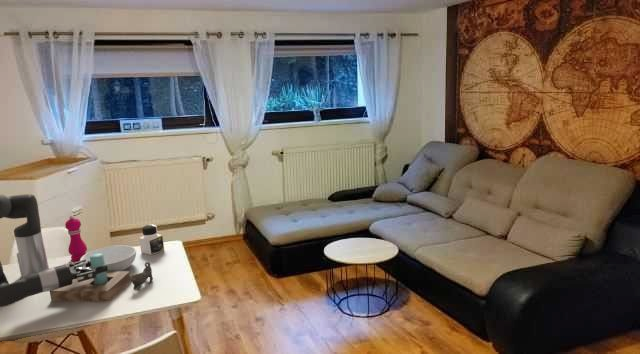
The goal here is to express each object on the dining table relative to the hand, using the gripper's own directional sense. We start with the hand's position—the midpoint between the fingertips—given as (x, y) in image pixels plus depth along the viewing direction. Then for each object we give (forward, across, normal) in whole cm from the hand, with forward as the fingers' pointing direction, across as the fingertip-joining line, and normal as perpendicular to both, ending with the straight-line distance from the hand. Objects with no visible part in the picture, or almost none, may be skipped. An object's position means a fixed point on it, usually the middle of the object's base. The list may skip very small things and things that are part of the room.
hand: (104, 264), depth 175 cm
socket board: (-5, +3, +10) cm, 11 cm away
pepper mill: (-1, +40, +10) cm, 42 cm away
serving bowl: (+6, +18, +10) cm, 21 cm away
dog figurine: (+10, -6, +10) cm, 16 cm away
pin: (-2, 0, +10) cm, 10 cm away
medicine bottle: (+26, +25, +10) cm, 37 cm away
